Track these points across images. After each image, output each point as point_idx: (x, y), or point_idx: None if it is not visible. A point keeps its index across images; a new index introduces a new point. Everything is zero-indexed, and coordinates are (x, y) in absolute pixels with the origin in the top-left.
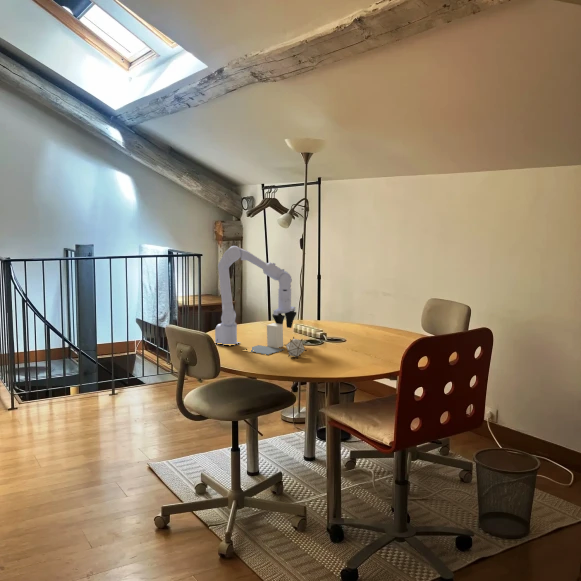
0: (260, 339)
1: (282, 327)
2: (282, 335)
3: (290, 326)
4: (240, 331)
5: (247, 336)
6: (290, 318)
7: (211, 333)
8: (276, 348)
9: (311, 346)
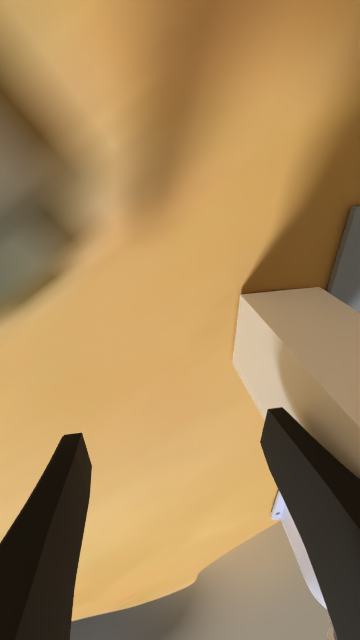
0: (145, 480)
1: (353, 410)
2: (294, 343)
3: (80, 451)
4: (76, 584)
5: (133, 533)
6: (43, 606)
7: (179, 588)
8: (348, 275)
9: (55, 57)
